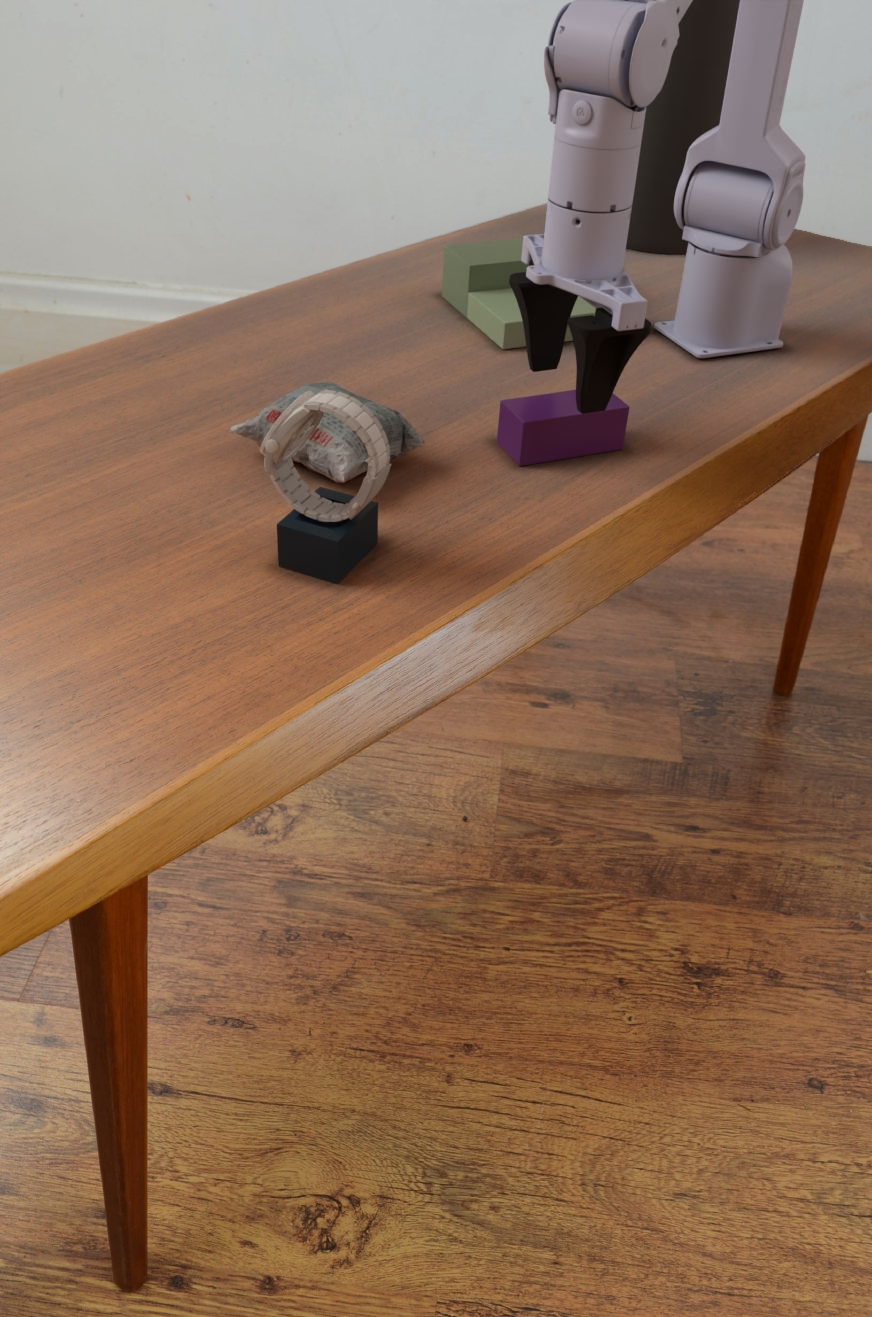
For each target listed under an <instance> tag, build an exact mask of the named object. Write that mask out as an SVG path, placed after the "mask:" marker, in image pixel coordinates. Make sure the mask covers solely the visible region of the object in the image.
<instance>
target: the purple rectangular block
mask: <svg viewBox="0 0 872 1317" xmlns="http://www.w3.org/2000/svg"><path fill="white" fill-rule="evenodd" d="M629 414H630V405H628V404H627V403H626V402H624V400H622V399H621V398H620V397H618V396H617V395H616V394H615V393H613V394H612V396H611V398H610V401H609V403H608V405H607V408H606V410H605V411H599V412H592V413H585V414H582V413H580V412H579V411H578V410H577V405H576V389H572V390H565V391H564V390H563V391H557V392H550V393H541V394H536V395H529V396H522V397H515V398H507V399H501V400H500V402H499V413H498V424H497V436H496V444H497V445H498V447H500V448H501V449H502V450H503V451H504V453H506V454H507V455H508V457H510V458H511V460H512V461H514V462H515V463H516V464H517V465H518V466H519V467H522V466H530V465H536V464H541V463H542V464H543V463H548V462H553V461H554V462H555V461H559V460H560V461H561V460H565V459H572V458H577V457H583V456H591V455H595V454H596V455H597V454H602V453H609V452H614V451H621V450H624V445H625V438H626V432H627V425H628V419H629Z"/></svg>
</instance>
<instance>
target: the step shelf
mask: <svg viewBox="0 0 872 1317" xmlns="http://www.w3.org/2000/svg"><path fill="white" fill-rule="evenodd" d="M522 246H523V237H522V238H512V239H511V238H510V239H499V240H489V241H479V242H478V241H477V242H468V243H467V242H466V243H456V244H446V245H444V246H443V262H442V263H443V264H442V280H441V281H442V285H441V297H442V298H443V299H444V300H446V301H447V302H448V303H449V304H450V305H451V306H452V307H454V308H455V309H456V310H457V311H458V312H459V313H460V314H462V315H463V316H464V317H465V318H466V319H467V320H468V321H470V322H471V323H472V324H473V325H474V326H475V327H476V328H478V329H479V330H480V331H481V333H483V334H484V335H485V336H487V337H488V338H489V339H490V340H492V342H493V343H494V344H496V345H497V346H498V347H500V349H501V350H508V349H510V350H511V349H519V348H527V347H526V339H525V332H524V326H523V321H522V317H521V313H520V309H519V306H518V303H517V300H516V297H515V295H514V292H513V290H512V288H511V286H510V284H509V277H510V275H511V274H514V273H521V272H526V269H527V267H528V266H529V265H526V264H525V263H523V262H522V261H521V257H522ZM595 311H596V308H595V307H594V306H592V305H591V304H589V303H588V302H587V301H585V300H584V299H582V298H581V297H580V296H578V298H577V300H576V302H575V305H574V307H573V310H572V313H571V316H570V318H572V317H580V316H589V315H593V316H595ZM566 342H573V338H572V335H571V331H570V328H569V326H567V330H566V335H565V340H564V343H566Z"/></svg>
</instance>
